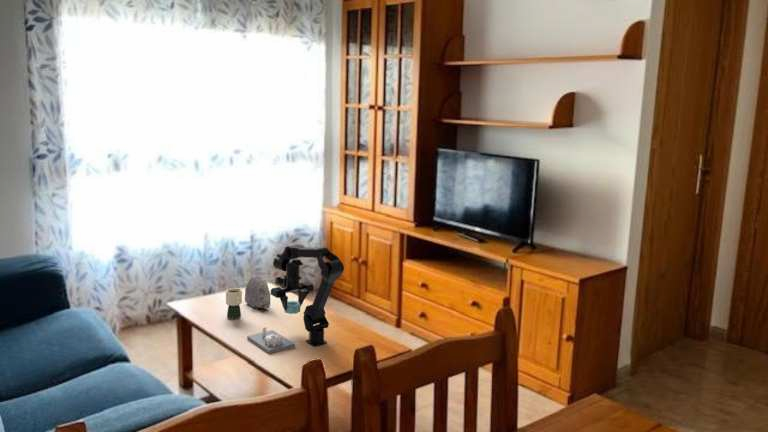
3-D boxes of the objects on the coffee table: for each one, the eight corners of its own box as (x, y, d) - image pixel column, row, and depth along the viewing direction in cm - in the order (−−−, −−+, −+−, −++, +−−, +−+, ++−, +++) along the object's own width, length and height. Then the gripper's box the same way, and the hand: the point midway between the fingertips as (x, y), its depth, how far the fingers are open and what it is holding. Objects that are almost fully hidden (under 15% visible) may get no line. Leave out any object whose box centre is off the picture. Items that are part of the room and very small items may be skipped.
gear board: (294, 347, 266) (294, 333, 265) (268, 353, 258) (268, 339, 257) (272, 333, 279) (272, 320, 278) (247, 339, 272) (247, 325, 271)
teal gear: (303, 312, 280) (303, 304, 279) (289, 315, 276) (289, 307, 275) (294, 307, 285) (294, 299, 284) (281, 310, 281) (281, 302, 280)
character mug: (246, 319, 293) (246, 292, 291) (231, 322, 289) (231, 295, 287) (236, 312, 302) (236, 285, 299) (222, 315, 298) (221, 288, 295)
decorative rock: (243, 303, 315) (243, 273, 312) (255, 300, 319) (255, 271, 316) (260, 313, 303) (260, 282, 300) (272, 310, 307) (272, 280, 304)
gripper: (301, 266, 289) (300, 299, 292) (264, 272, 277) (263, 307, 280) (315, 272, 280) (314, 306, 284) (277, 279, 269) (277, 314, 272)
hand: (292, 308), depth 280 cm, fingers closed on teal gear, 7 cm apart
